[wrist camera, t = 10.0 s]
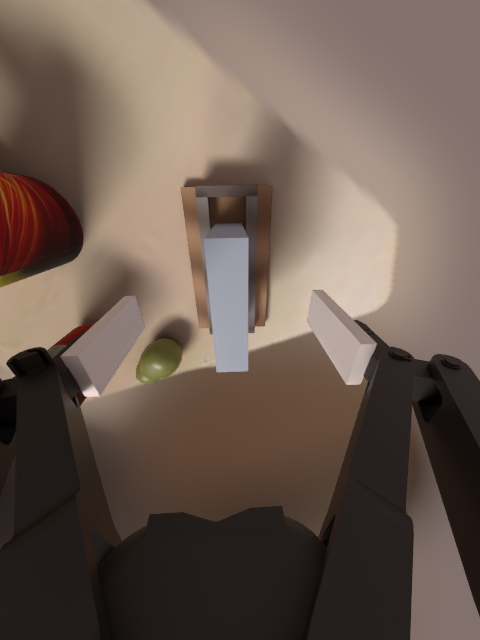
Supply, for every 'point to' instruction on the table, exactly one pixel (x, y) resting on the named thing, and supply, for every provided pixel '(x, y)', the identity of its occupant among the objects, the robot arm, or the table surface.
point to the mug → (34, 228)
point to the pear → (158, 361)
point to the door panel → (228, 294)
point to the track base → (229, 207)
